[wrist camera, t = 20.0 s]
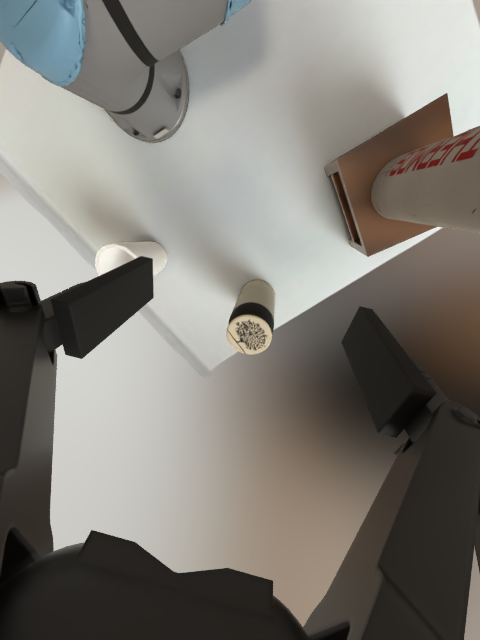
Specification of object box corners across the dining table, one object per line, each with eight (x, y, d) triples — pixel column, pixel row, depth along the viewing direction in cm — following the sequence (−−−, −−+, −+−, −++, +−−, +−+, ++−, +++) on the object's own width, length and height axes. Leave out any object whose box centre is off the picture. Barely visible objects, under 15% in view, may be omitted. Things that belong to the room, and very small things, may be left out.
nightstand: (324, 168, 40) (336, 158, 32) (406, 119, 36) (447, 92, 27) (350, 246, 45) (367, 256, 37) (425, 211, 41) (464, 214, 32)
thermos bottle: (361, 179, 32) (630, 110, 8) (425, 137, 29) (1193, -193, 5) (382, 230, 35) (633, 300, 10) (442, 196, 32) (1004, 181, 7)
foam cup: (155, 283, 56) (123, 304, 44) (126, 251, 53) (85, 265, 42) (182, 260, 52) (155, 277, 41) (153, 225, 49) (115, 232, 38)
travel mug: (266, 273, 50) (260, 306, 35) (280, 304, 53) (280, 347, 38) (234, 287, 53) (216, 324, 37) (249, 316, 56) (238, 361, 40)
